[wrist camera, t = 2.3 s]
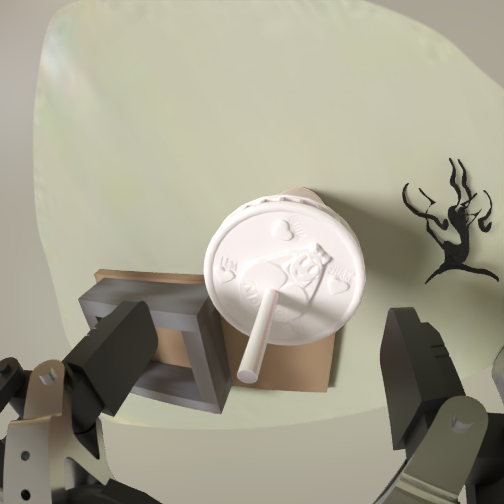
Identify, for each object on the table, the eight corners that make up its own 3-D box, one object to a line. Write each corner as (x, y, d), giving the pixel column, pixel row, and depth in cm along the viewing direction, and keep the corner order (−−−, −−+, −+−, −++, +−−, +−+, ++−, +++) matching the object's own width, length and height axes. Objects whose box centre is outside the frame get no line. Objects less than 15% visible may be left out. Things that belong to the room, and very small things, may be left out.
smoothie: (233, 212, 20) (115, 341, 8) (297, 146, 18) (253, 182, 5) (297, 272, 21) (264, 447, 9) (363, 215, 18) (431, 371, 6)
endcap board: (339, 279, 21) (343, 319, 16) (327, 384, 25) (325, 425, 21) (99, 269, 25) (67, 294, 21) (132, 359, 30) (112, 388, 26)
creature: (396, 156, 17) (395, 268, 19) (422, 143, 12) (419, 291, 14) (483, 166, 16) (480, 268, 17) (522, 160, 10) (516, 287, 12)
